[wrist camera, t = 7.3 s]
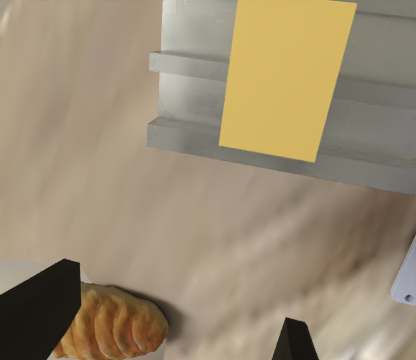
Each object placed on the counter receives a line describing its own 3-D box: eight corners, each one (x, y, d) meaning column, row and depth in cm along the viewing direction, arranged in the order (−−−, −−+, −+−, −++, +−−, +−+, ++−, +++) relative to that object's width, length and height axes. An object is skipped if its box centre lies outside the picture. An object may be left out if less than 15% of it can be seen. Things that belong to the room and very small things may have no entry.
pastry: (163, 280, 25) (143, 321, 21) (178, 346, 27) (163, 391, 24) (54, 276, 27) (20, 312, 24) (77, 336, 30) (51, 377, 26)
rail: (546, 2, 14) (597, -3, 12) (458, 185, 17) (483, 208, 15) (171, -36, 16) (153, -46, 14) (162, 132, 20) (146, 146, 17)
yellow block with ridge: (336, 10, 15) (357, 3, 10) (307, 126, 17) (314, 162, 12) (253, 1, 15) (238, -10, 11) (236, 114, 17) (218, 145, 13)
